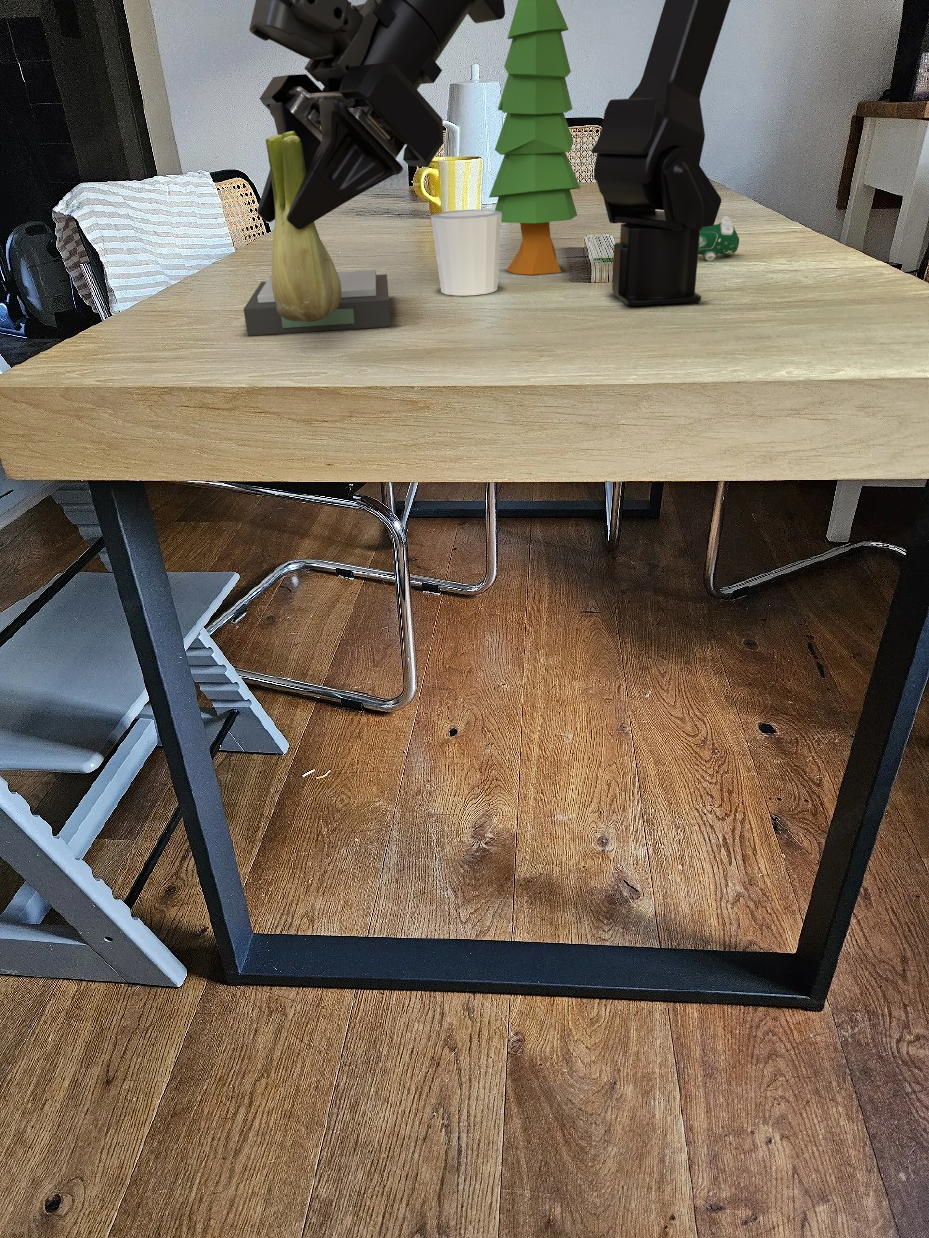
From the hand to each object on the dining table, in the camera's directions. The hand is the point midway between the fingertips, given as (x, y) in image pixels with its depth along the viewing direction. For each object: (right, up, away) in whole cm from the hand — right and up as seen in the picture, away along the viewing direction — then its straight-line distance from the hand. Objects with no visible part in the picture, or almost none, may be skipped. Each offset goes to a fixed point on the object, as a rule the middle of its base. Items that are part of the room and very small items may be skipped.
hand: (276, 221), depth 61 cm
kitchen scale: (0, 0, +19) cm, 19 cm away
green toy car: (+38, +12, +37) cm, 55 cm away
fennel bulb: (+2, -6, +4) cm, 7 cm away
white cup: (+13, +5, +27) cm, 30 cm away
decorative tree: (+21, +11, +36) cm, 43 cm away
